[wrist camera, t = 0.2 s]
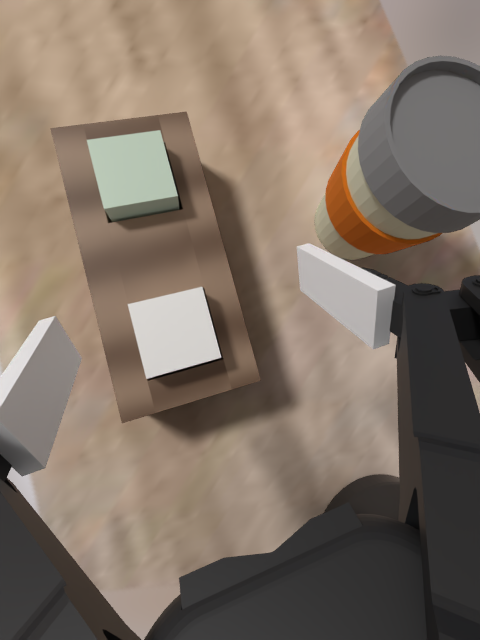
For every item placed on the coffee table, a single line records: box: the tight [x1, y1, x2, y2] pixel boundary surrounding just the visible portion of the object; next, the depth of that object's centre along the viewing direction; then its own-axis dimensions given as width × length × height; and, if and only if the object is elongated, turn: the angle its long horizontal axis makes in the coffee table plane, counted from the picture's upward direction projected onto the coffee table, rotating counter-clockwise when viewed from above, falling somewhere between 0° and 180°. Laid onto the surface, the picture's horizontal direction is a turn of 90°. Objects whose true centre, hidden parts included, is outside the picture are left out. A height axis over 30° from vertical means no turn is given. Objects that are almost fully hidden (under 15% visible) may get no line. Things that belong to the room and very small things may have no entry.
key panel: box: [51, 112, 261, 423], centre depth 28 cm, size 26×12×6 cm, turn 16°
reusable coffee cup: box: [315, 56, 480, 260], centre depth 27 cm, size 13×13×15 cm
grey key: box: [128, 287, 221, 379], centre depth 25 cm, size 6×6×5 cm
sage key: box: [87, 130, 179, 222], centre depth 26 cm, size 6×6×5 cm
